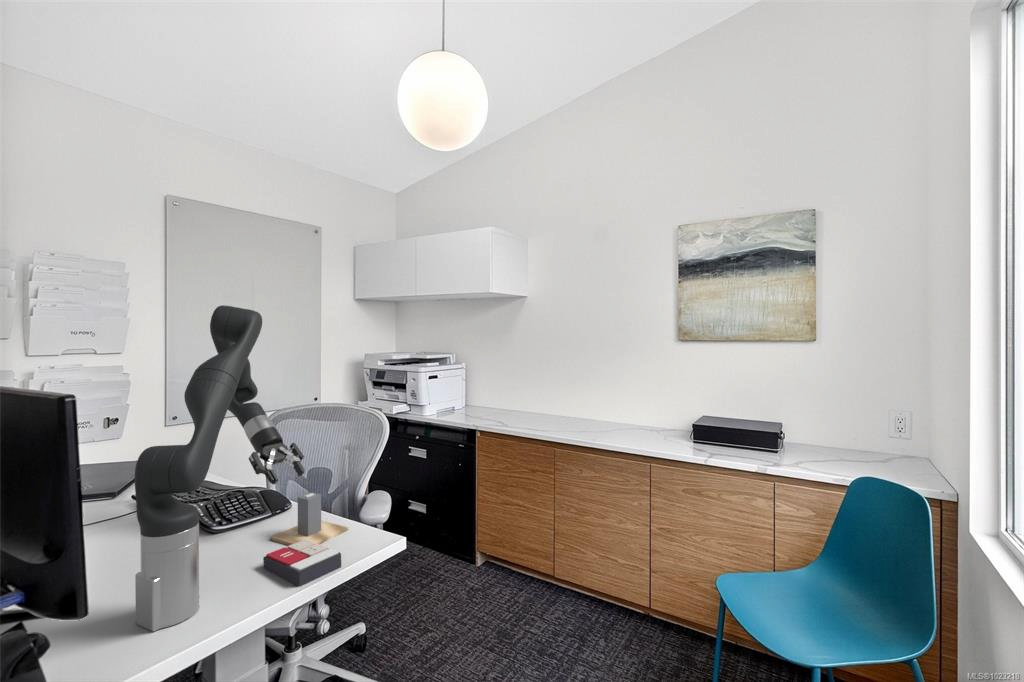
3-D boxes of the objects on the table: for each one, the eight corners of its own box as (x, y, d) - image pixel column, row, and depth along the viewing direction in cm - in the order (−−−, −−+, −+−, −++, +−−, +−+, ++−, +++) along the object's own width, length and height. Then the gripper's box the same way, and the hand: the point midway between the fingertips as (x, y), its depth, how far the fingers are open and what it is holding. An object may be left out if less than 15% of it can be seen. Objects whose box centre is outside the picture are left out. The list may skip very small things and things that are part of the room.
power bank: (308, 536, 125) (308, 498, 124) (297, 533, 126) (297, 496, 126) (321, 530, 128) (321, 493, 128) (311, 527, 130) (310, 491, 130)
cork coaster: (306, 550, 118) (306, 547, 118) (270, 540, 124) (270, 537, 124) (348, 530, 131) (348, 527, 131) (313, 521, 137) (313, 518, 137)
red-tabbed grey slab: (305, 537, 118) (341, 549, 110) (306, 554, 118) (342, 567, 110) (262, 553, 109) (298, 568, 101) (262, 572, 109) (298, 588, 101)
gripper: (245, 430, 129) (272, 477, 124) (290, 422, 141) (316, 464, 136) (233, 447, 131) (259, 493, 126) (278, 437, 144) (304, 479, 139)
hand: (289, 478), depth 131 cm, fingers open, 8 cm apart
